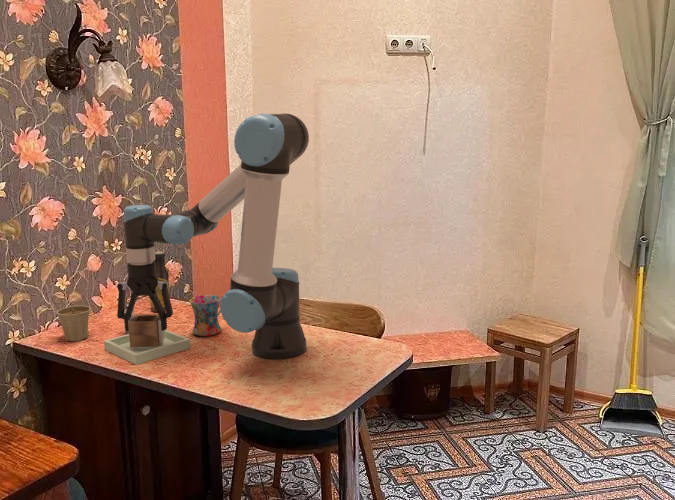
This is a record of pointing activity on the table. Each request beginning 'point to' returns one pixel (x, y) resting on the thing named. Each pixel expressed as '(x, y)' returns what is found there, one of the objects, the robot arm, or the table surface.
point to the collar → (144, 330)
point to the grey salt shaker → (130, 317)
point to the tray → (143, 354)
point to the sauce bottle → (160, 276)
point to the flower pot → (74, 322)
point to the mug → (206, 314)
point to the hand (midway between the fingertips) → (147, 341)
